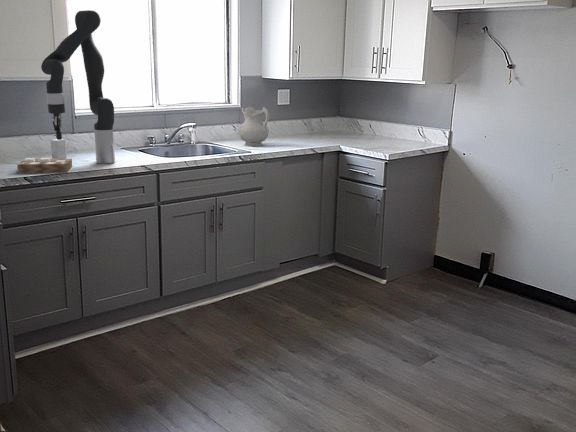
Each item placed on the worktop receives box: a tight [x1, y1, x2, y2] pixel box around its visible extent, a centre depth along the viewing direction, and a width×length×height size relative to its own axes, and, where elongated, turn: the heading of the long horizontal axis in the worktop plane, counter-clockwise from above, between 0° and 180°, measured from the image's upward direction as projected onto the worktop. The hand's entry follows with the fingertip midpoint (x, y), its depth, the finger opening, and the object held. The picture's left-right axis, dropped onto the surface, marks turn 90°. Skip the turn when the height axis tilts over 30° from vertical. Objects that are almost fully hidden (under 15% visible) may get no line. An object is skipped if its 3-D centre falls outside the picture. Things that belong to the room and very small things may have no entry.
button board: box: [16, 158, 73, 174], centre depth 294 cm, size 22×16×4 cm
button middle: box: [39, 157, 51, 162], centre depth 294 cm, size 4×4×2 cm
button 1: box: [23, 157, 36, 162], centre depth 293 cm, size 4×4×2 cm
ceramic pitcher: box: [237, 105, 270, 147], centre depth 388 cm, size 22×20×25 cm
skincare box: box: [50, 138, 67, 159], centre depth 313 cm, size 6×4×12 cm
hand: (59, 139), depth 293 cm, fingers closed
